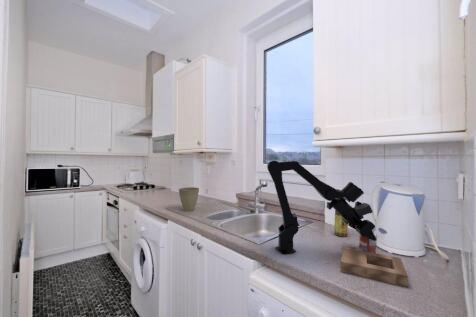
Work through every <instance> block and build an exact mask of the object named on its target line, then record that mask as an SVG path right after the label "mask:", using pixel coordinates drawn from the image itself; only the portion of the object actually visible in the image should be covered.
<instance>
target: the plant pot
mask: <svg viewBox="0 0 476 317" xmlns="http://www.w3.org/2000/svg"><path fill="white" fill-rule="evenodd" d="M199 192H200V188H199V187H194V186H193V187H192V186H191V187H187V186H186V187H181V188H178V194H179V197H180V198H179V199H180V202H181V205H182V208H183V211H184V212H192V211H195V208H196V205H197V202H198V198H199Z"/></svg>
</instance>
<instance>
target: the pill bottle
mask: <svg viewBox="0 0 476 317" xmlns="http://www.w3.org/2000/svg"><path fill="white" fill-rule="evenodd" d="M375 230H376V227H375V228H374V229H373V230H372V232H373V234H374V235H375V237H376V239H377V240H378V237H377V236H378V235H377V232H375ZM377 240H376V241H373V240H371V239H369V238H367V237H363V236H361V235H360V234H359V244H358V245H359V246H358V250H360V251H366V252H371V253H376V254H377V244H378V243H377Z"/></svg>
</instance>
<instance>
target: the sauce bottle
mask: <svg viewBox="0 0 476 317" xmlns="http://www.w3.org/2000/svg"><path fill="white" fill-rule="evenodd" d="M343 199H344V200H345V201H346V202H347V200H346V199H345V198H343ZM333 230H334V234H335V236H338V237H347V235H348V233H349V232H348V230H349V226H348V224H346V223H345V222H344V221H343V220H342V217H341V216H340V215H339V213H338V212H337V211H336V210H335V209H334V229H333Z"/></svg>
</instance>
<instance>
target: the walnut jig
mask: <svg viewBox="0 0 476 317" xmlns="http://www.w3.org/2000/svg"><path fill="white" fill-rule="evenodd" d="M402 260H403V259H402V258H401V257H396V256H391V255H386V254H380V253H377V252H376V253H371V252H366V251H360V250H359V249H354V248H349V247H345V246H344V247H343V249H342V254H341V258H340V272H341V273H347V274H350V275H355V276H359V277H363V278H368V279H372V280H375V281H379V282H383V283H389V284H392V285H397V286H401V287H405V288H408V286H409V275H408V273H407V271H406V270H407V269H406V268H405V265H404V263H403V262H404V261H402Z"/></svg>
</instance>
